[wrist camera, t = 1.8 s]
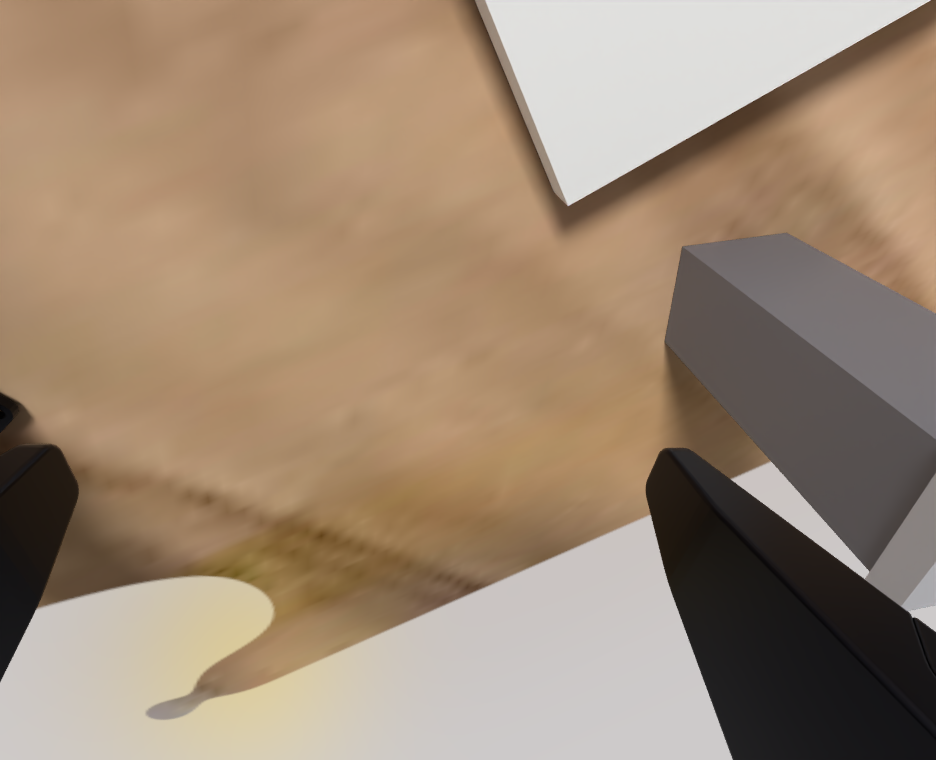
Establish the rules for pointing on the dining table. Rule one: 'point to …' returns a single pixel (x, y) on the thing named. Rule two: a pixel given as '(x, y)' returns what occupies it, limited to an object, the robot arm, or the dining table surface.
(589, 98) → the socket plate
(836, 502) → the plug
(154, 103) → the dining table surface
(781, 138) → the dining table surface
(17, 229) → the dining table surface
